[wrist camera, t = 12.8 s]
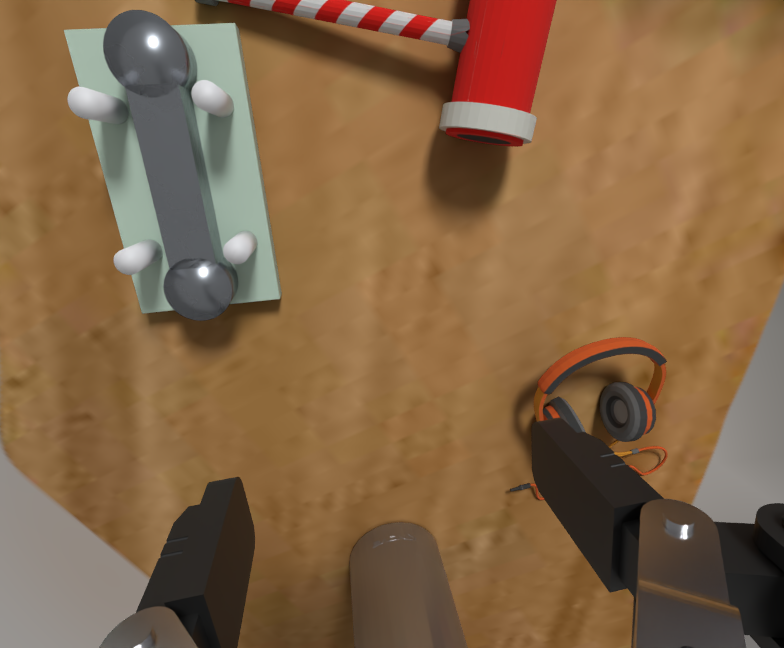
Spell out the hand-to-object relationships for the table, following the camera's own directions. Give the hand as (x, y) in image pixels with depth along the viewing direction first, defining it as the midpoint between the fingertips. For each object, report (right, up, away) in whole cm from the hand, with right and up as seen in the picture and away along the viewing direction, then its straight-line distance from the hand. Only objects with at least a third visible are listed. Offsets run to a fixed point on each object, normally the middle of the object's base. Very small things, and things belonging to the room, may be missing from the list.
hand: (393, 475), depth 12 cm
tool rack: (-14, +14, +20) cm, 28 cm away
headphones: (+18, -5, +32) cm, 37 cm away
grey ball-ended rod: (-14, +14, +19) cm, 27 cm away
